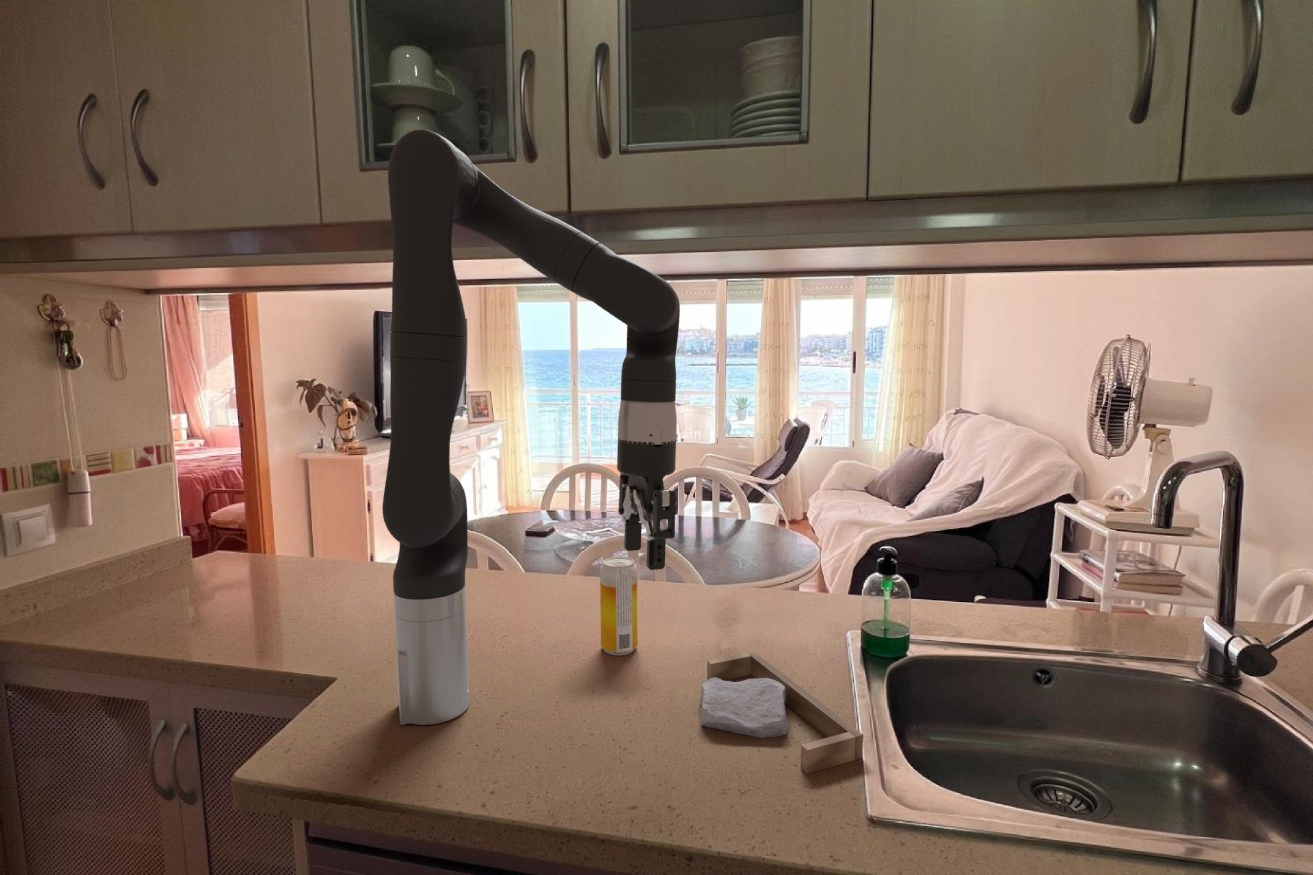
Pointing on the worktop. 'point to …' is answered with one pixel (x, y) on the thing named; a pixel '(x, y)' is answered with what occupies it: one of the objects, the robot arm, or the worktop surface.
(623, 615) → the beer can
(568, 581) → the worktop surface
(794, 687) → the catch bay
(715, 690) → the stone block
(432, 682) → the robot arm
